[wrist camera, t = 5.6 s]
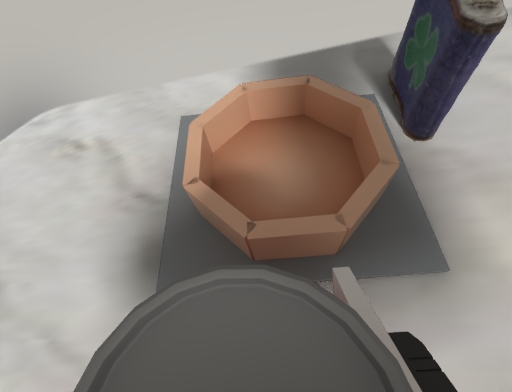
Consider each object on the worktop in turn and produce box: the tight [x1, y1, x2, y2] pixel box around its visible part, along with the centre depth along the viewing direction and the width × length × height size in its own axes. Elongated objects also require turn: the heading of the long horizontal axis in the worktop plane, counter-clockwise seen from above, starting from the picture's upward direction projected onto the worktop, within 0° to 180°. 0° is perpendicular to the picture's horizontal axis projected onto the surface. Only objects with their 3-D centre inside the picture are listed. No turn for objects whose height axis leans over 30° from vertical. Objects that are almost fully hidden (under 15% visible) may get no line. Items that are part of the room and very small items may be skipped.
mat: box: [156, 94, 450, 292], centre depth 21 cm, size 18×16×1 cm
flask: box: [388, 0, 508, 141], centre depth 19 cm, size 9×3×11 cm, turn 176°
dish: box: [182, 75, 400, 261], centre depth 19 cm, size 13×13×4 cm
